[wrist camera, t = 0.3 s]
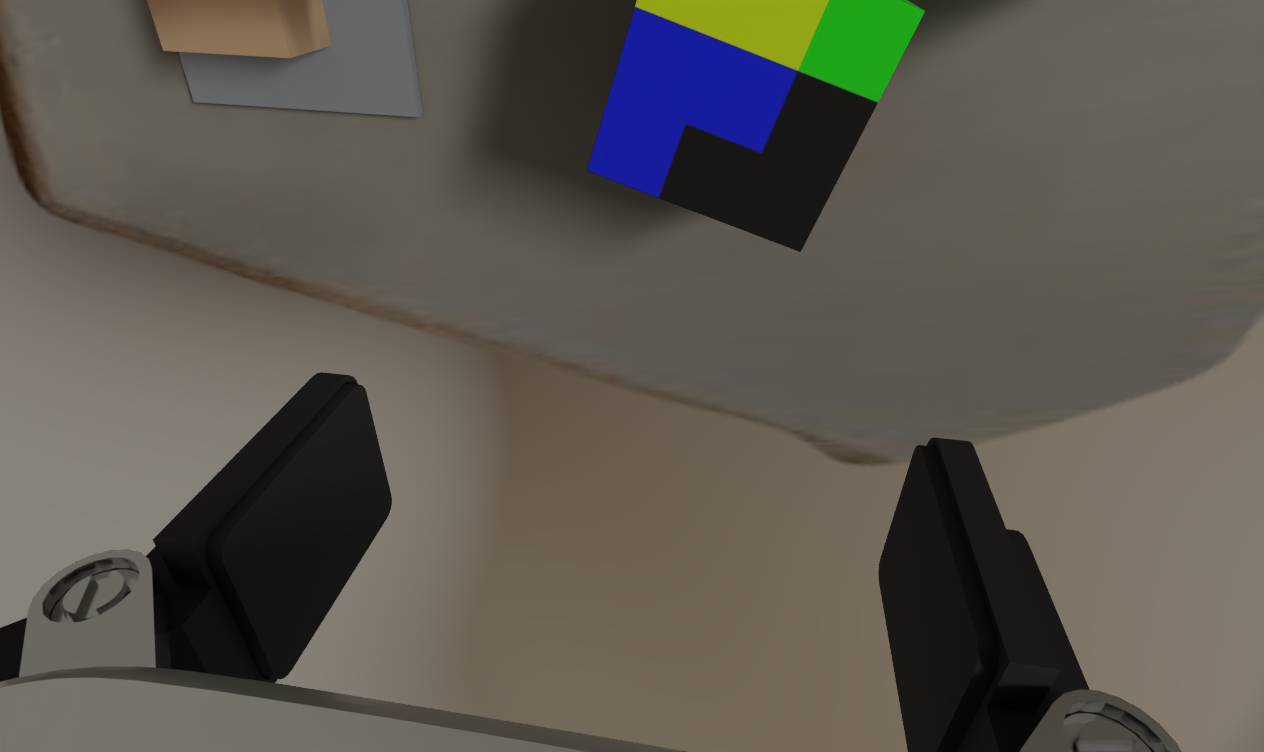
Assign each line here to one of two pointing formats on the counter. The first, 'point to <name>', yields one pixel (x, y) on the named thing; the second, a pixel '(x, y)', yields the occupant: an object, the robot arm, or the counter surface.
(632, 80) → the puzzle toy
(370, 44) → the build mat
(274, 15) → the base block
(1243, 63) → the counter surface
